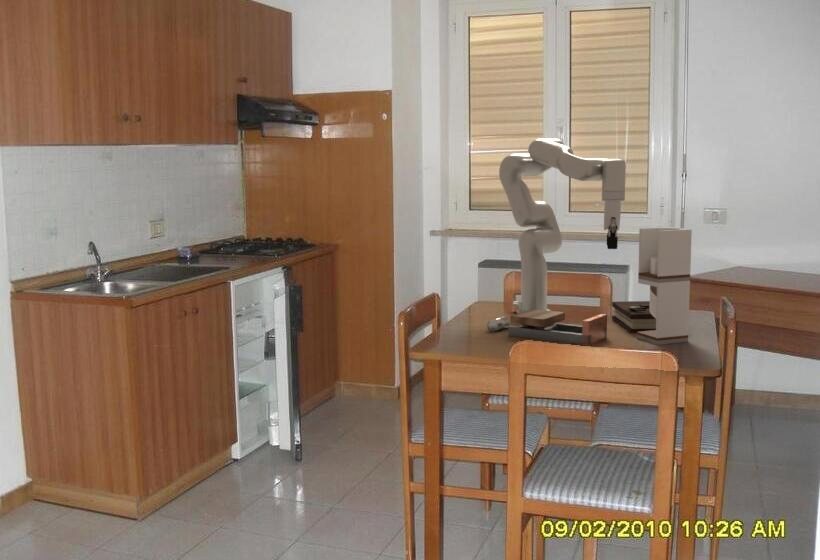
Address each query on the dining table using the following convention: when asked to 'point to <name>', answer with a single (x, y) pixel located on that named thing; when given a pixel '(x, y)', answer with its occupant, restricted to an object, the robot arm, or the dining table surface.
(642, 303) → the decorative book
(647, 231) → the white tower
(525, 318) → the slab
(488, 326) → the roller
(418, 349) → the dining table surface
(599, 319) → the track
